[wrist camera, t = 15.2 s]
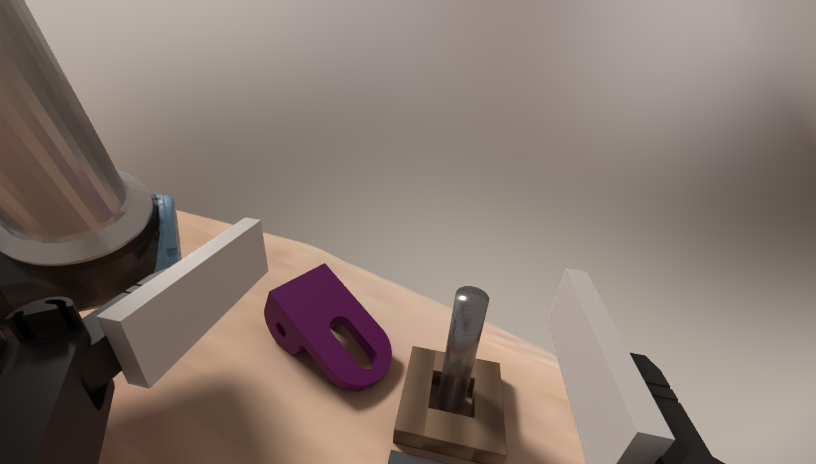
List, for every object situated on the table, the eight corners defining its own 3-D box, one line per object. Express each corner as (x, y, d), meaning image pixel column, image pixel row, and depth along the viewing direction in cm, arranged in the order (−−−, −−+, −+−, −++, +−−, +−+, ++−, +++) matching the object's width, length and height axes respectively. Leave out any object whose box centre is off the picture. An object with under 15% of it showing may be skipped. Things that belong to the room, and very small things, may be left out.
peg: (435, 411, 40) (454, 303, 33) (438, 387, 43) (456, 283, 36) (463, 417, 40) (489, 310, 32) (464, 393, 43) (488, 289, 35)
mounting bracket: (382, 376, 51) (312, 292, 56) (404, 354, 46) (325, 263, 51) (336, 422, 44) (261, 321, 49) (355, 402, 39) (269, 291, 44)
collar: (392, 442, 37) (394, 429, 36) (411, 358, 47) (412, 346, 46) (501, 468, 35) (506, 455, 34) (495, 375, 46) (499, 363, 45)
